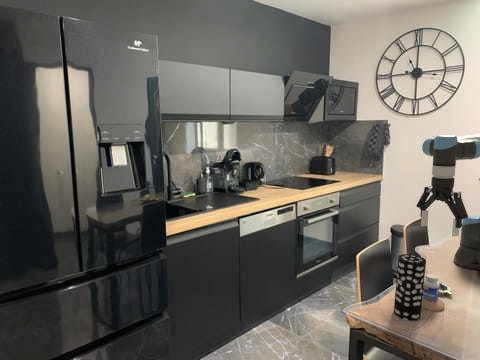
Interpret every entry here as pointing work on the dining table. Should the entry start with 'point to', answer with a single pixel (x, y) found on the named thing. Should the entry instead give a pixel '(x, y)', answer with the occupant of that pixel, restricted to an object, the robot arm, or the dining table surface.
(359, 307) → the dining table surface
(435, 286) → the pill bottle
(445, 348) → the dining table surface
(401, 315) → the spotted tube
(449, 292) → the collar
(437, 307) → the peach disc
